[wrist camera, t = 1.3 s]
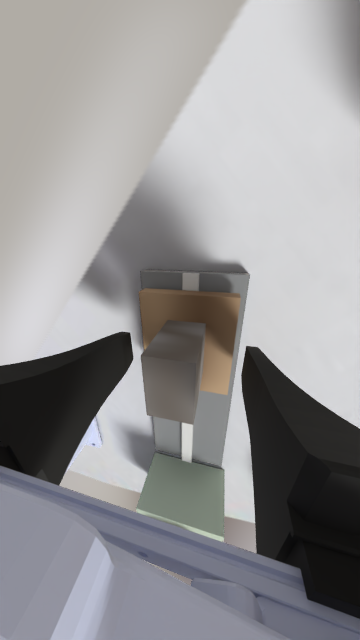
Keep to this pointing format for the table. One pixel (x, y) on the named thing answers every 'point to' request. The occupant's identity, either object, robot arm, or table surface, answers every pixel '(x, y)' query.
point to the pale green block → (184, 495)
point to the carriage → (186, 348)
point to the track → (212, 408)
